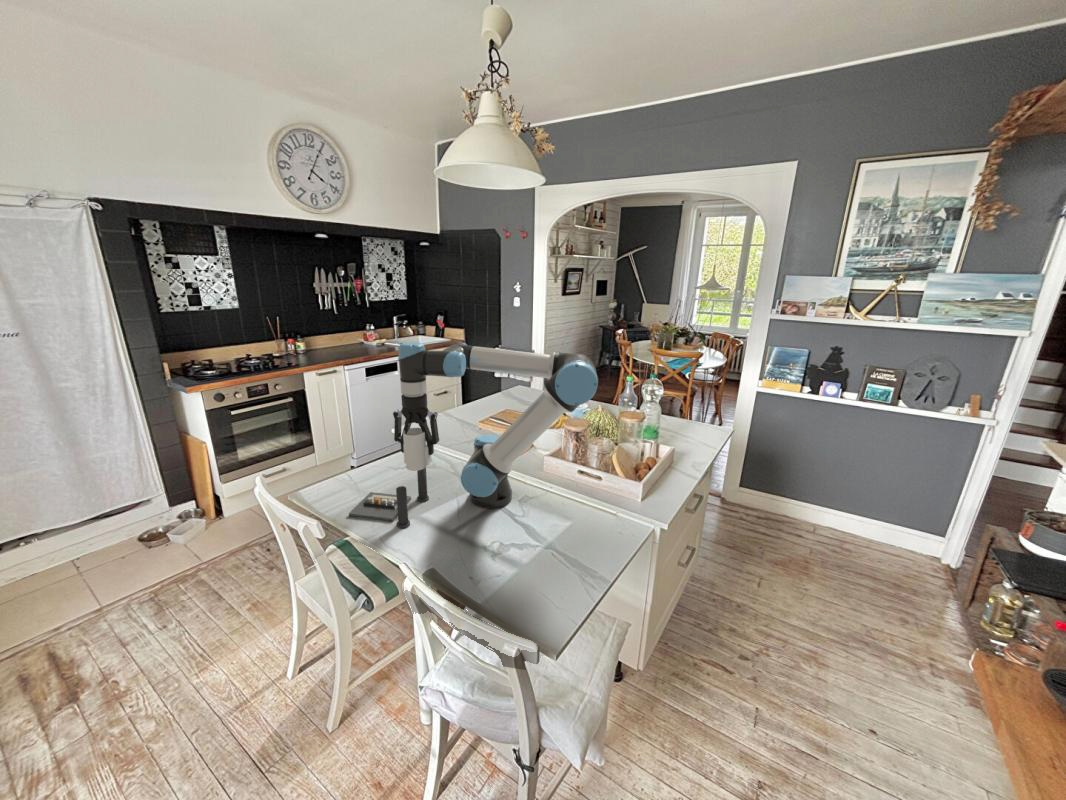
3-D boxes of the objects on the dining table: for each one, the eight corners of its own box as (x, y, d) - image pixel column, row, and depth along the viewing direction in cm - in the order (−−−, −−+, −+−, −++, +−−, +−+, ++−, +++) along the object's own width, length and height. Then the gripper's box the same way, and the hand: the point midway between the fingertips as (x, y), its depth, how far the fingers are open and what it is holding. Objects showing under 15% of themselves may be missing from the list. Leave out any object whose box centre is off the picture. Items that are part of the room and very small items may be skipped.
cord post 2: (430, 496, 150) (429, 464, 146) (426, 502, 146) (424, 469, 142) (419, 495, 150) (418, 463, 147) (415, 501, 147) (413, 468, 143)
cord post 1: (412, 522, 135) (410, 486, 131) (406, 529, 131) (404, 492, 127) (400, 520, 135) (397, 484, 131) (394, 527, 131) (392, 491, 128)
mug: (416, 473, 129) (414, 437, 126) (400, 468, 132) (398, 432, 129) (438, 461, 138) (436, 426, 134) (422, 456, 141) (420, 423, 137)
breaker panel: (411, 499, 148) (410, 491, 147) (392, 521, 134) (392, 512, 133) (370, 495, 150) (370, 487, 149) (348, 516, 136) (348, 507, 135)
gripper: (448, 392, 131) (451, 460, 137) (389, 388, 133) (394, 455, 140) (440, 399, 124) (443, 470, 130) (377, 394, 126) (383, 465, 133)
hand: (418, 462), depth 135 cm, fingers closed on mug, 6 cm apart
